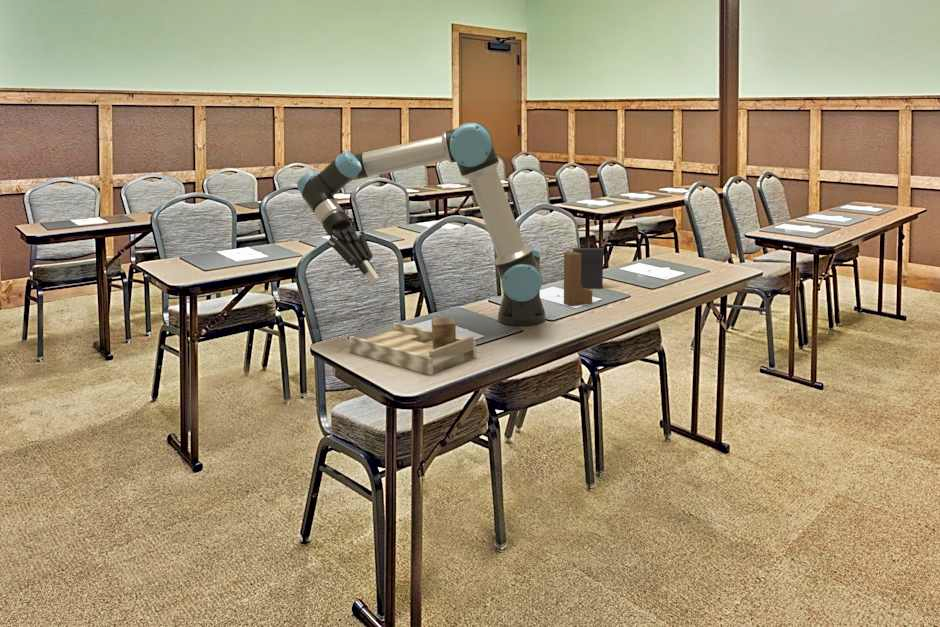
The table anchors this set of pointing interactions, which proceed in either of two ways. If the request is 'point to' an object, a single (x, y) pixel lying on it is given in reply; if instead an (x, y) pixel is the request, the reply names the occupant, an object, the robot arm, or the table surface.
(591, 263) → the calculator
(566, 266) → the wooden block
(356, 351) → the box
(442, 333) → the walnut block
